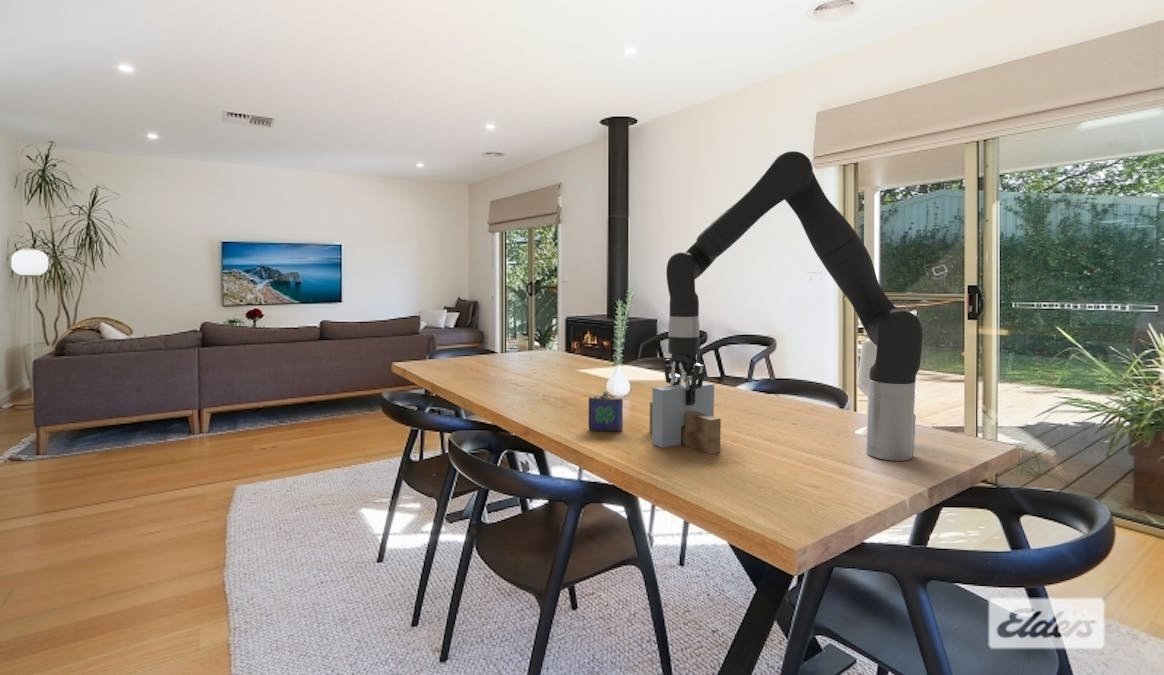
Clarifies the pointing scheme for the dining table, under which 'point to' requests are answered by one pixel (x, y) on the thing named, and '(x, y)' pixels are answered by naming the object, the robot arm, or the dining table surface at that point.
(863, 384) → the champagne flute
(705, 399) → the tall grey upright block
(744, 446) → the dining table surface
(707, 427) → the walnut slotted plate
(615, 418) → the flask
